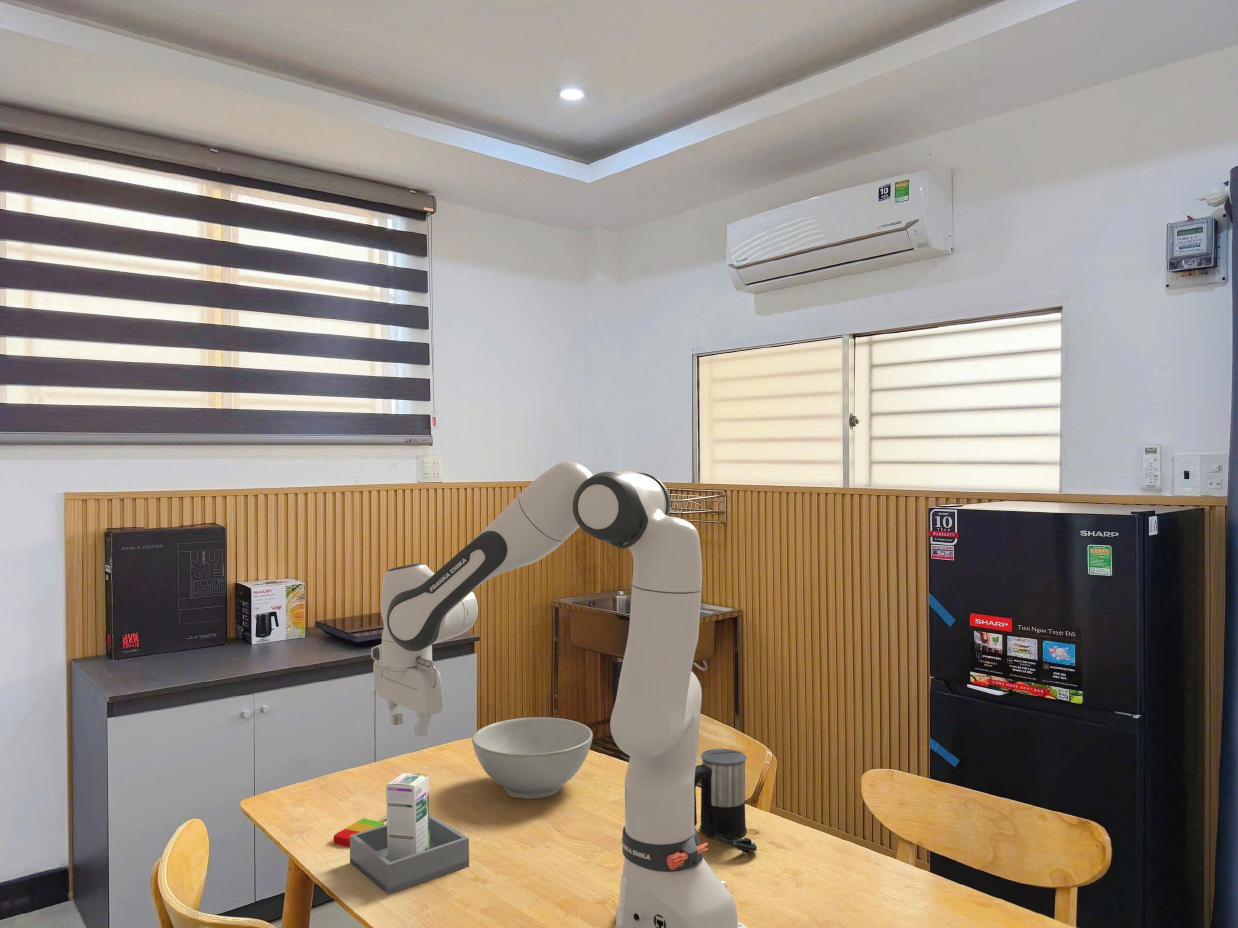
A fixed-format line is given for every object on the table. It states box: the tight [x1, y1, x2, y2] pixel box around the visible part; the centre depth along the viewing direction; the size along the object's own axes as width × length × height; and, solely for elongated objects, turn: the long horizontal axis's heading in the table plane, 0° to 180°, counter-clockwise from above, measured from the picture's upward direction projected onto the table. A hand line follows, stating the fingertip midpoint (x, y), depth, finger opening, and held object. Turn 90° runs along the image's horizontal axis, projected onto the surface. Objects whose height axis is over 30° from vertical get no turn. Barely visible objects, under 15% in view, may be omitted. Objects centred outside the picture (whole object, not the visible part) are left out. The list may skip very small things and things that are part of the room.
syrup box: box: [385, 772, 430, 862], centre depth 156 cm, size 6×6×14 cm
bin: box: [349, 813, 470, 895], centre depth 156 cm, size 16×16×5 cm
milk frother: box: [694, 748, 758, 855], centre depth 165 cm, size 14×16×15 cm
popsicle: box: [333, 814, 387, 848], centre depth 171 cm, size 6×15×2 cm, turn 157°
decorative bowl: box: [471, 716, 594, 800], centre depth 192 cm, size 27×27×12 cm
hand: (408, 729), depth 156 cm, fingers open, 8 cm apart
